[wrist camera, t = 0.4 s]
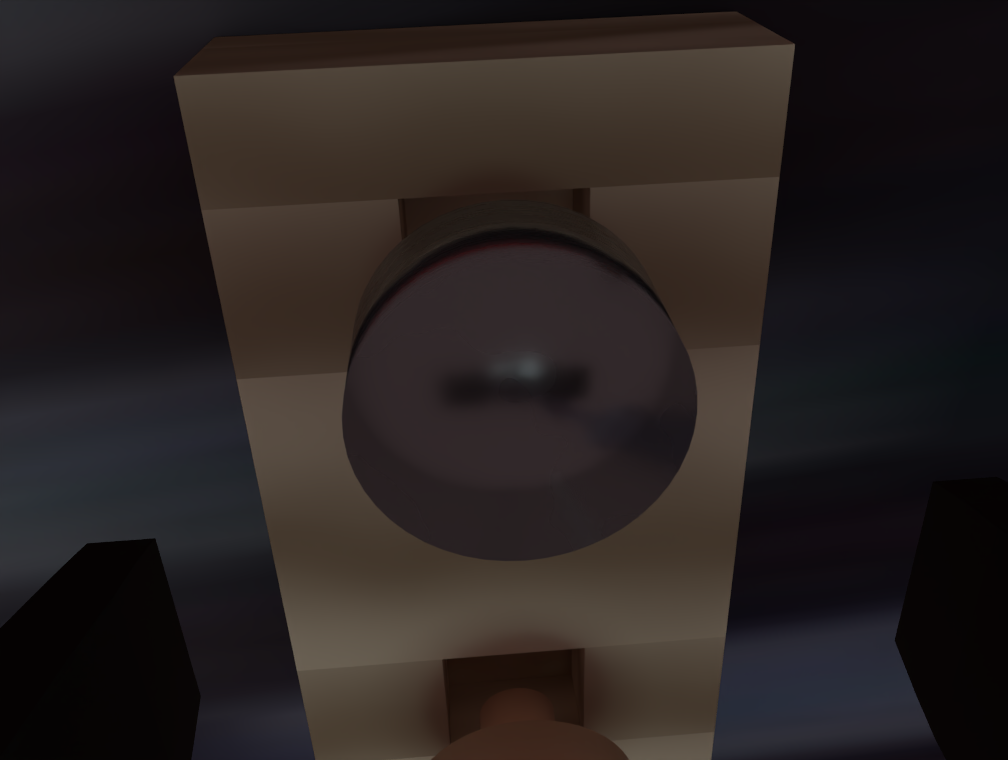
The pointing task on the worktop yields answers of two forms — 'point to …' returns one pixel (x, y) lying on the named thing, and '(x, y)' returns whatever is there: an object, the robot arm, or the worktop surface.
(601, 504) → the knob
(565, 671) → the knob bar
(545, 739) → the pot knob
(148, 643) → the robot arm
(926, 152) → the worktop surface
